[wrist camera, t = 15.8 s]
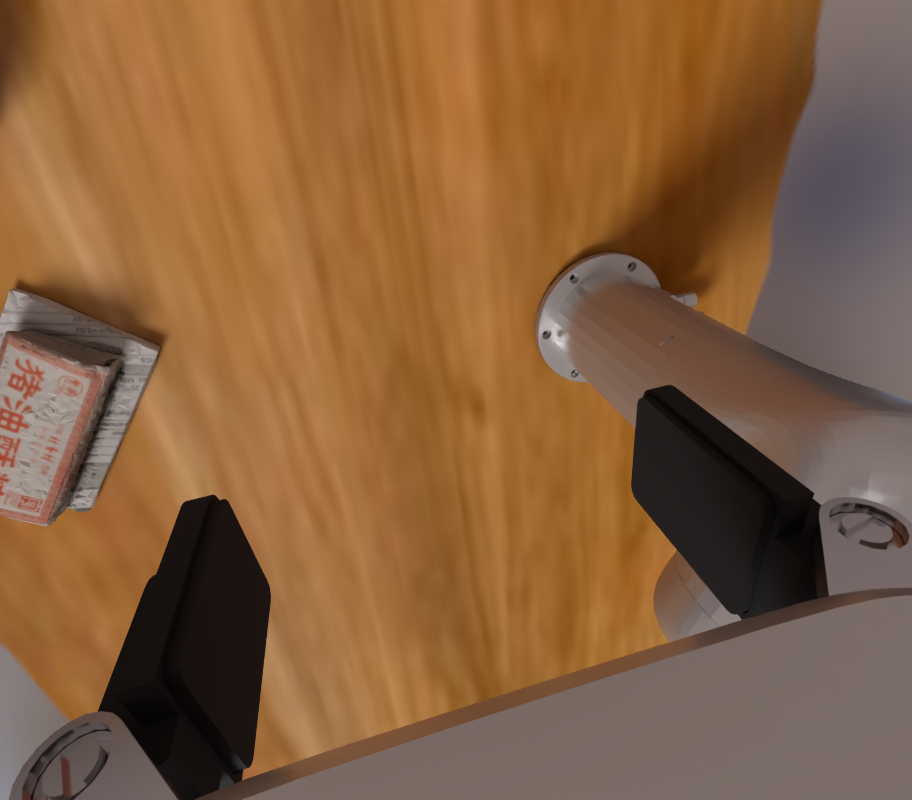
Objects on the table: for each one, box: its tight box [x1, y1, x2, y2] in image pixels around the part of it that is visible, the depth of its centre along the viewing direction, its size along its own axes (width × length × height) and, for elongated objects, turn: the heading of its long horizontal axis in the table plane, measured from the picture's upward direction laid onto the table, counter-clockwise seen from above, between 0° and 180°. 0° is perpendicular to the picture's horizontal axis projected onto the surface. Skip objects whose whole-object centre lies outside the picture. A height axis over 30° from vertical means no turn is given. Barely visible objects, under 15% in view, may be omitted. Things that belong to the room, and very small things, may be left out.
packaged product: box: [0, 288, 160, 527], centre depth 38 cm, size 18×5×10 cm
